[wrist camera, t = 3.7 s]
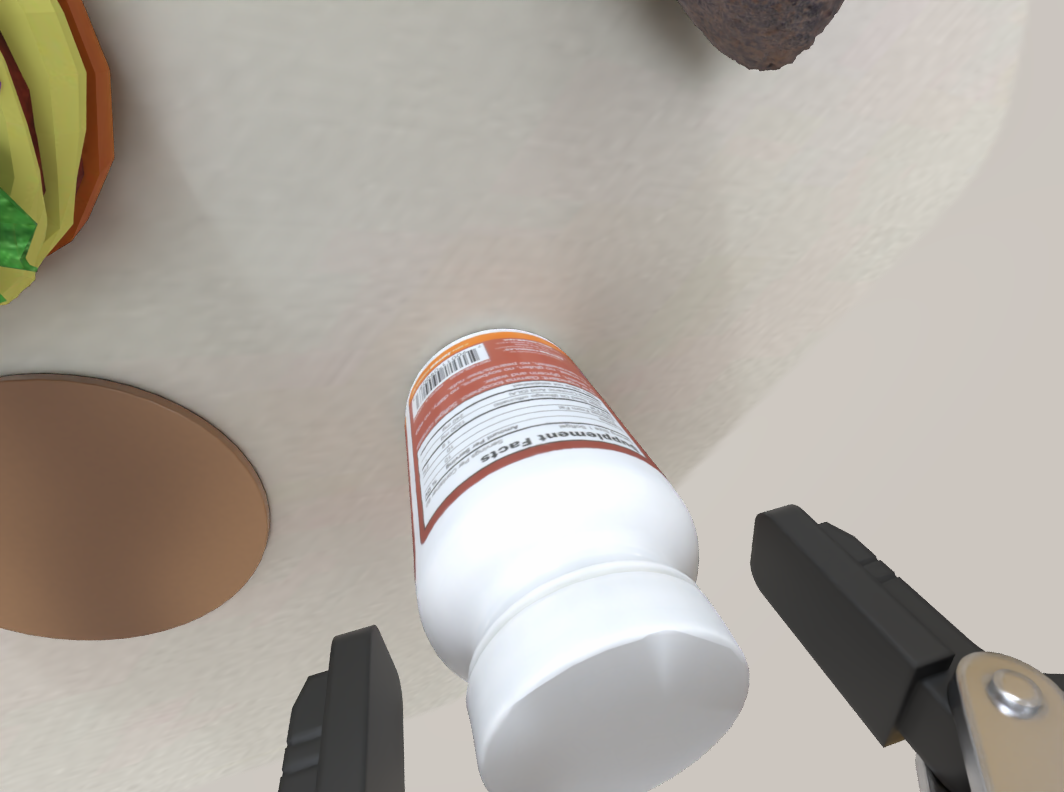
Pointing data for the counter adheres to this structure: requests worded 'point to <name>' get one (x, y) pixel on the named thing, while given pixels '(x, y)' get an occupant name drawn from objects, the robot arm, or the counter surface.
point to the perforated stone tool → (761, 27)
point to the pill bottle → (560, 576)
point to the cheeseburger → (48, 132)
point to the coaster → (118, 511)
